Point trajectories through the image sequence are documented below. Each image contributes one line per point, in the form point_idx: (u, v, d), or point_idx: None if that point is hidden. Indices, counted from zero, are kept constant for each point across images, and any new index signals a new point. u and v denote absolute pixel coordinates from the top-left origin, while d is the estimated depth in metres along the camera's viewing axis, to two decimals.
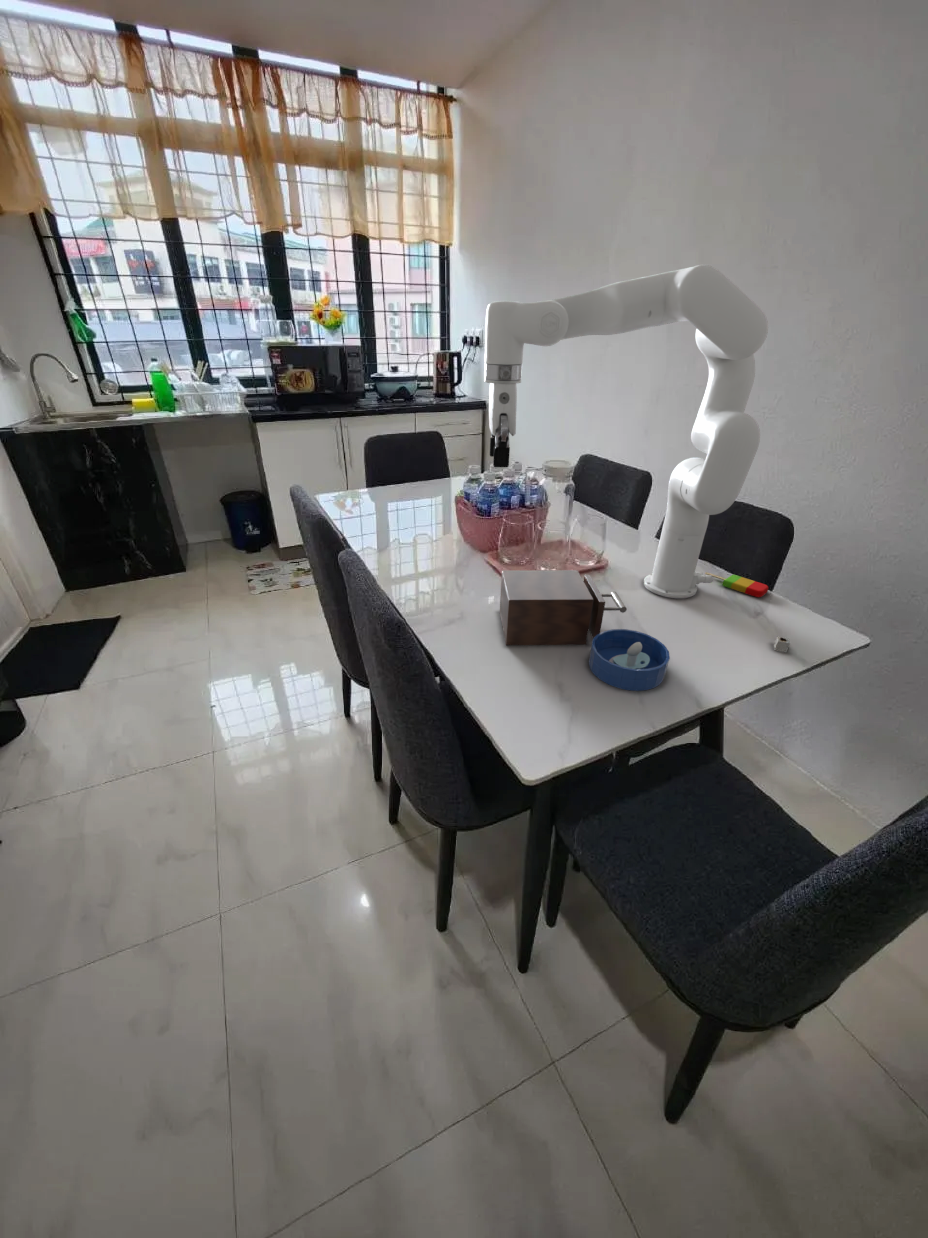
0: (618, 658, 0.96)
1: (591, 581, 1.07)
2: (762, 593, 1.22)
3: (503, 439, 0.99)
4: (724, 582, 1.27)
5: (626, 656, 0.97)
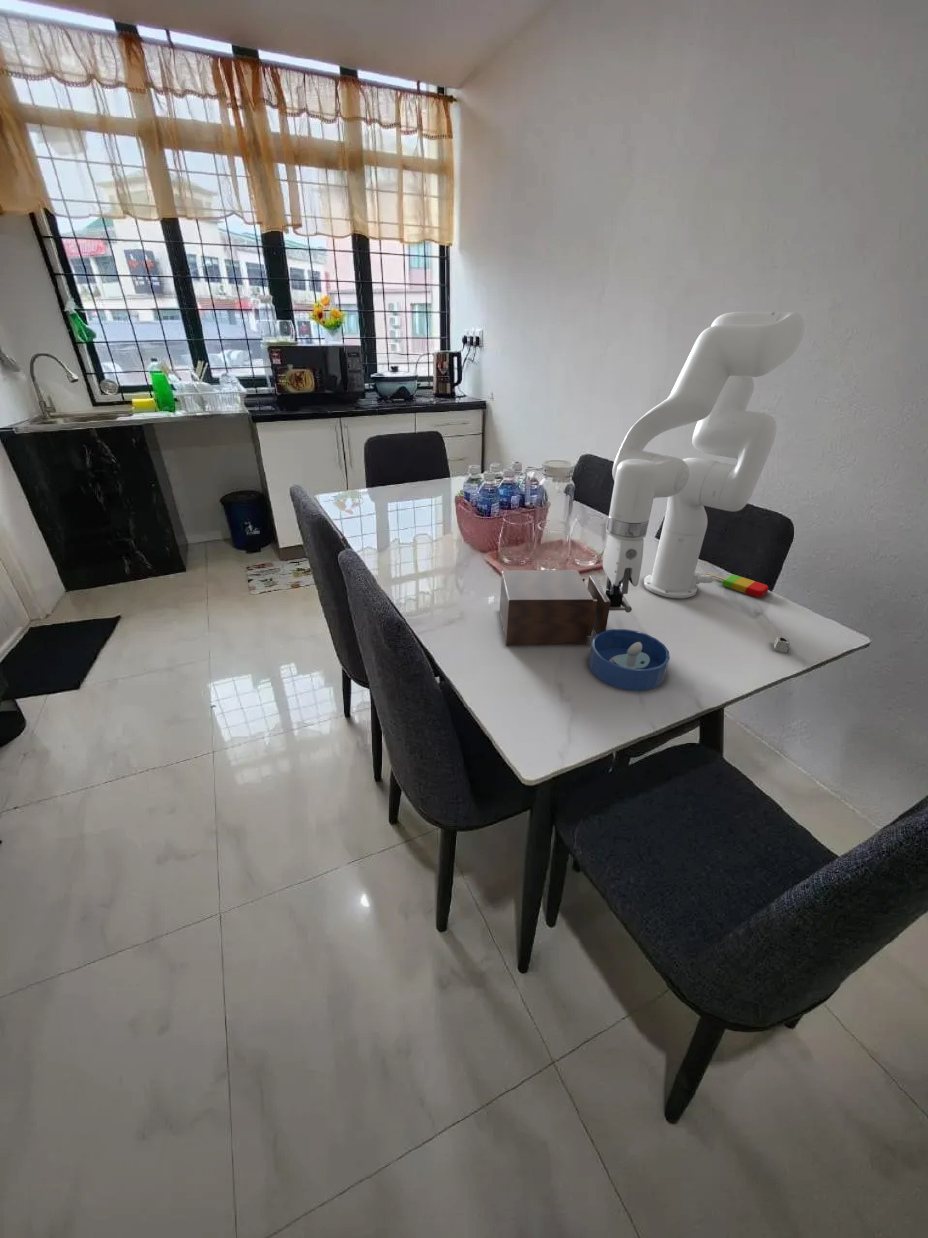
0: (618, 658, 0.96)
1: (596, 581, 1.07)
2: (762, 593, 1.22)
3: None
4: (724, 582, 1.27)
5: (626, 656, 0.97)
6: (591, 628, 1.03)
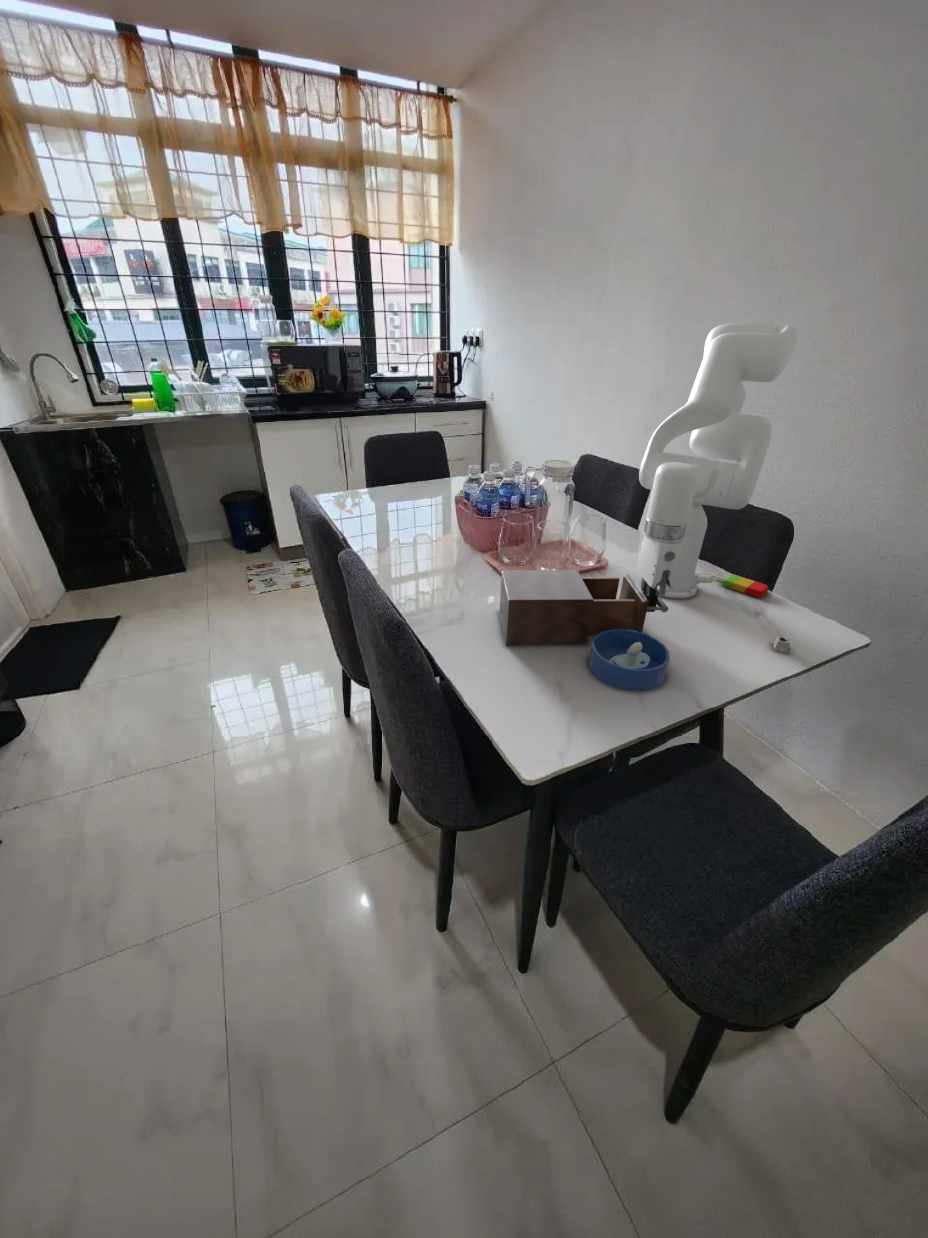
0: (618, 658, 0.96)
1: (631, 581, 1.07)
2: (762, 593, 1.22)
3: None
4: (724, 582, 1.27)
5: (626, 656, 0.97)
6: (628, 628, 1.03)
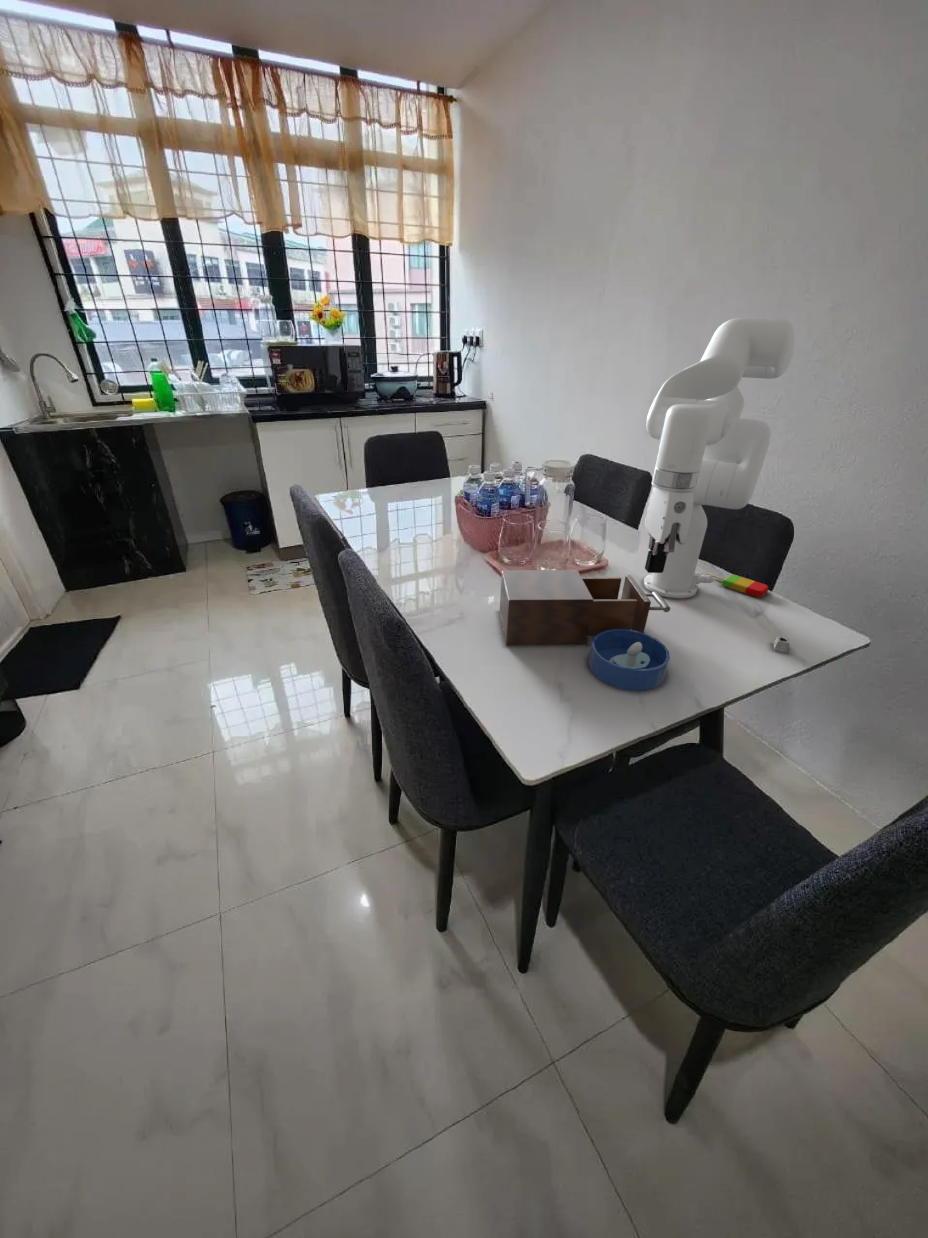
0: (618, 658, 0.96)
1: (633, 581, 1.07)
2: (762, 593, 1.22)
3: None
4: (724, 582, 1.27)
5: (626, 656, 0.97)
6: (630, 628, 1.03)
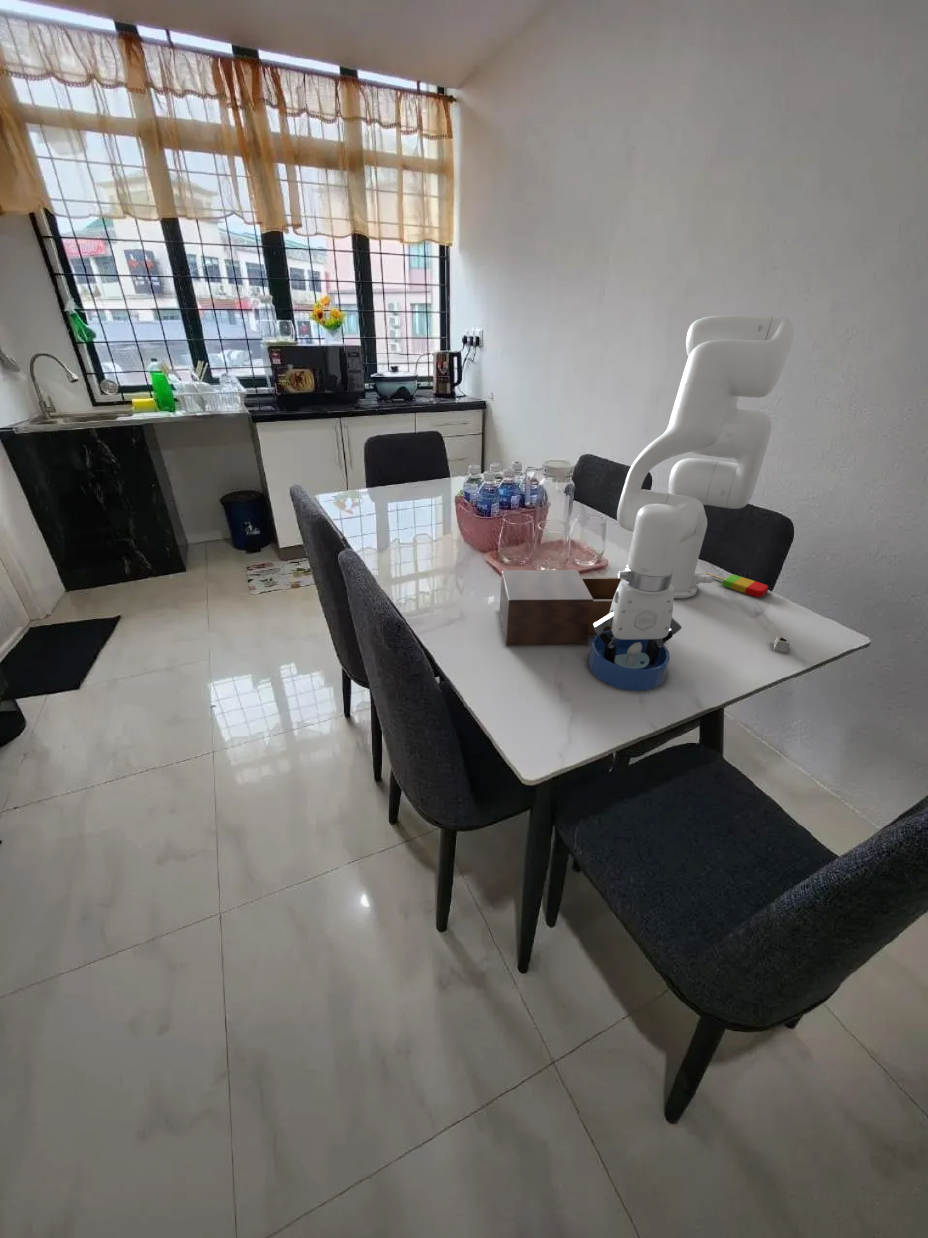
0: (618, 658, 0.96)
1: None
2: (762, 593, 1.22)
3: None
4: (724, 582, 1.27)
5: (626, 656, 0.97)
6: None
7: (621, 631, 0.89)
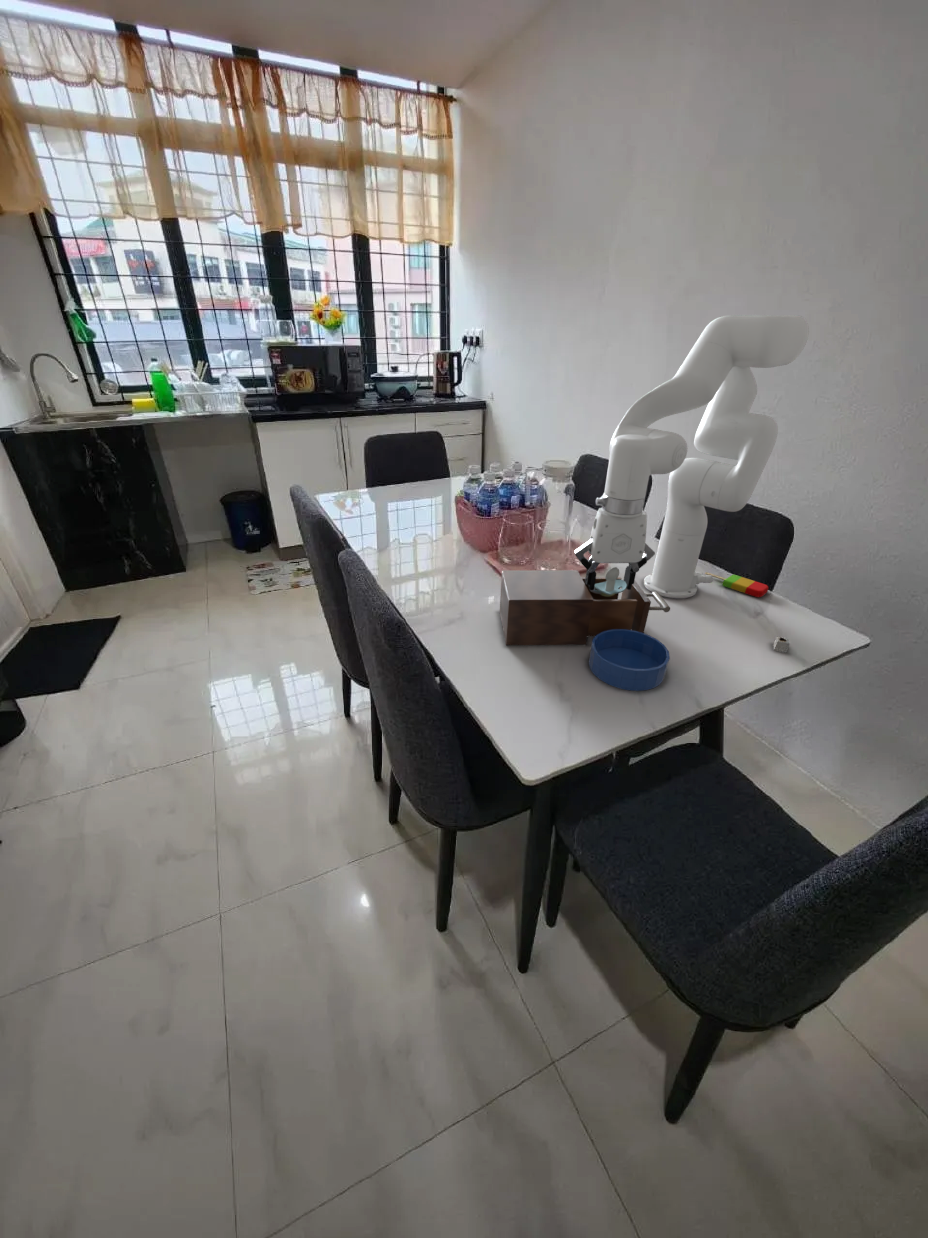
0: (598, 584, 1.05)
1: None
2: (762, 593, 1.22)
3: (579, 560, 1.01)
4: (724, 582, 1.27)
5: (605, 583, 1.06)
6: (630, 628, 1.03)
7: (599, 554, 0.98)
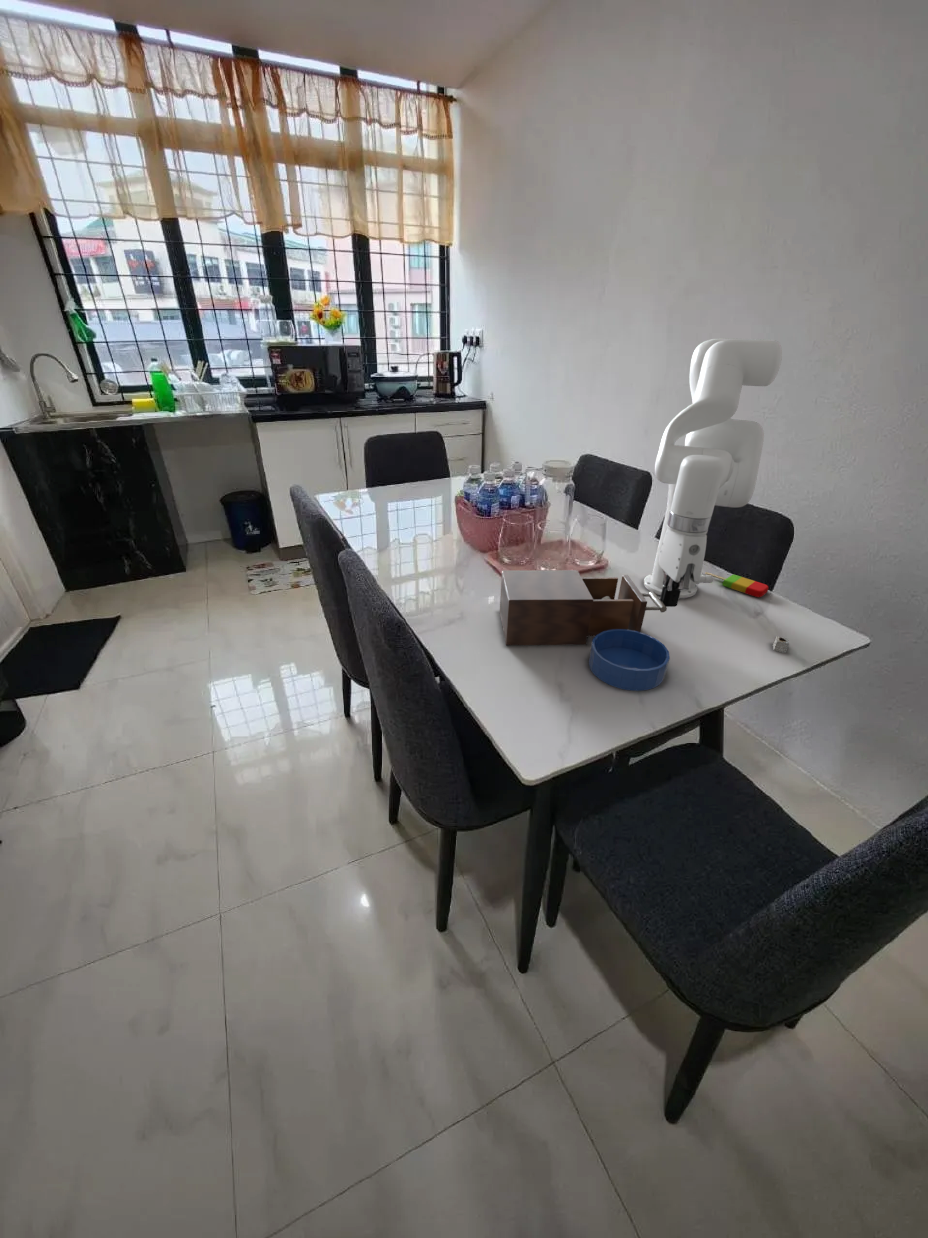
0: None
1: (630, 581, 1.07)
2: (762, 593, 1.22)
3: None
4: (724, 582, 1.27)
5: None
6: (626, 628, 1.03)
7: None
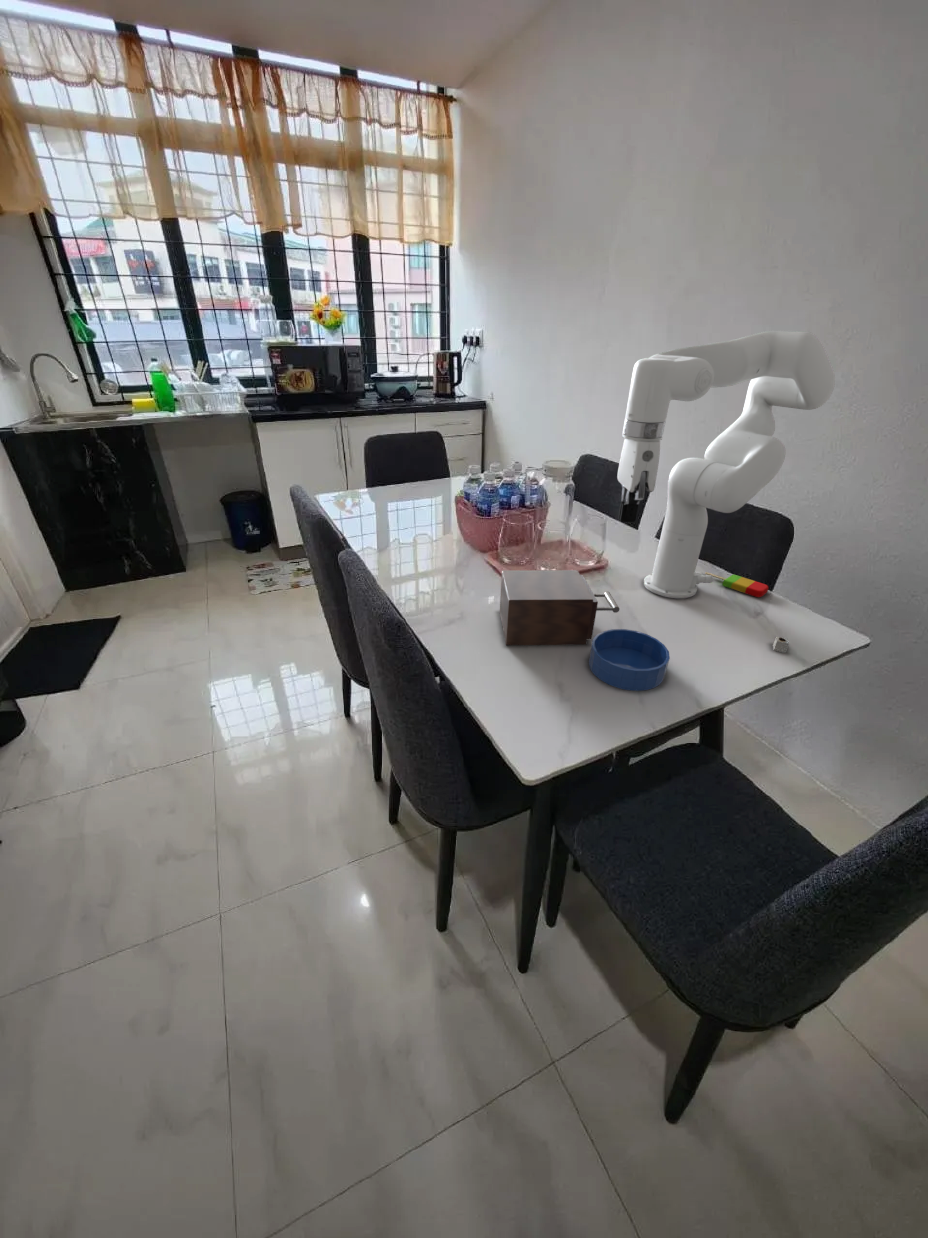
0: None
1: (584, 581, 1.07)
2: (762, 593, 1.22)
3: None
4: (724, 582, 1.27)
5: None
6: None
7: None
